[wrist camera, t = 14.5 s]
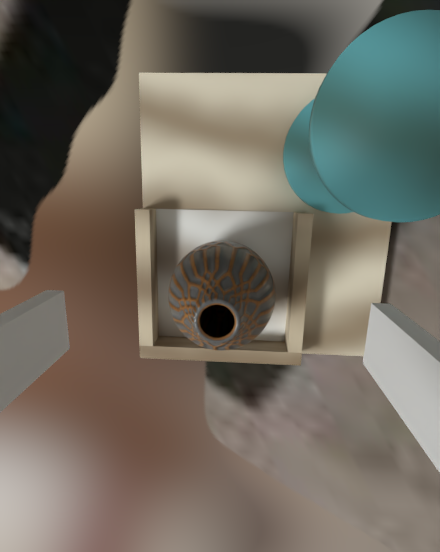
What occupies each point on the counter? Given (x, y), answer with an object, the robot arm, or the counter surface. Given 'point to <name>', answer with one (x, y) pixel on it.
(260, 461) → the counter surface
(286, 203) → the jig board
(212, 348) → the vase
